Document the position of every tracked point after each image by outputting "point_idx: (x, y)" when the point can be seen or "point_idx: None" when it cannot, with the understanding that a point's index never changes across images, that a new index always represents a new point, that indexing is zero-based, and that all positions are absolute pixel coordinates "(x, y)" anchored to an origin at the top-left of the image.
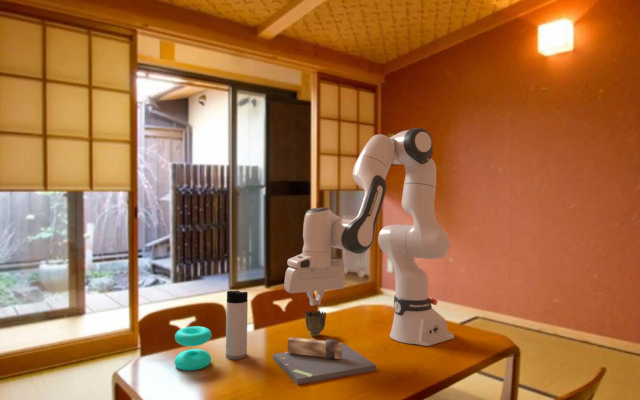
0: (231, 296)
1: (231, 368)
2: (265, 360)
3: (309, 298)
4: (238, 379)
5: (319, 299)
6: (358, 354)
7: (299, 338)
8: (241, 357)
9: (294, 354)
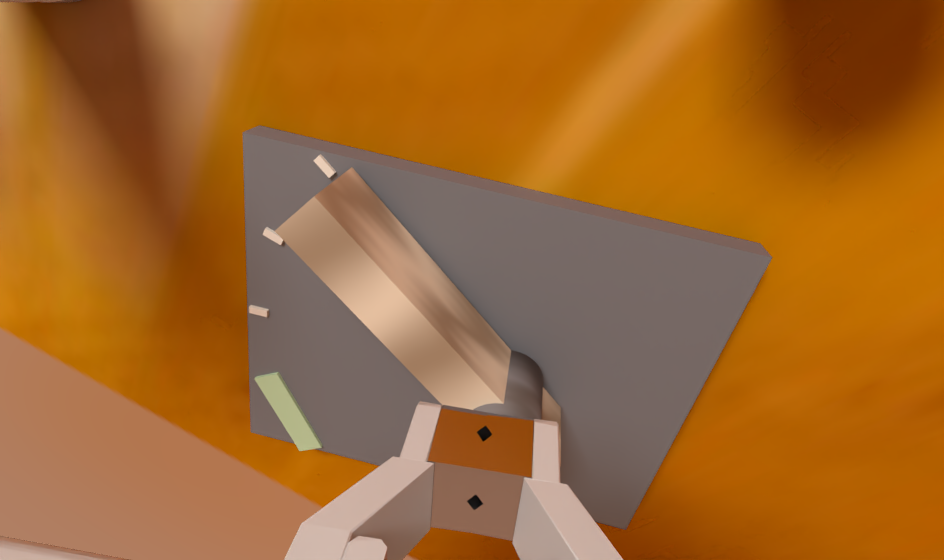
0: None
1: (15, 108)
2: (212, 116)
3: (381, 477)
4: (46, 245)
5: (524, 542)
6: (672, 421)
7: (362, 261)
8: (67, 2)
9: None
